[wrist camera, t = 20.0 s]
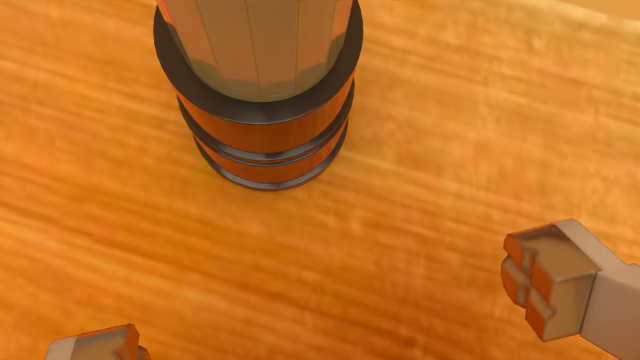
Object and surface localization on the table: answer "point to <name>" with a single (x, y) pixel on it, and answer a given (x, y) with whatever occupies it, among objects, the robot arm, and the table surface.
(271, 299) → the table surface
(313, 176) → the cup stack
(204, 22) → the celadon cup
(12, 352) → the table surface
